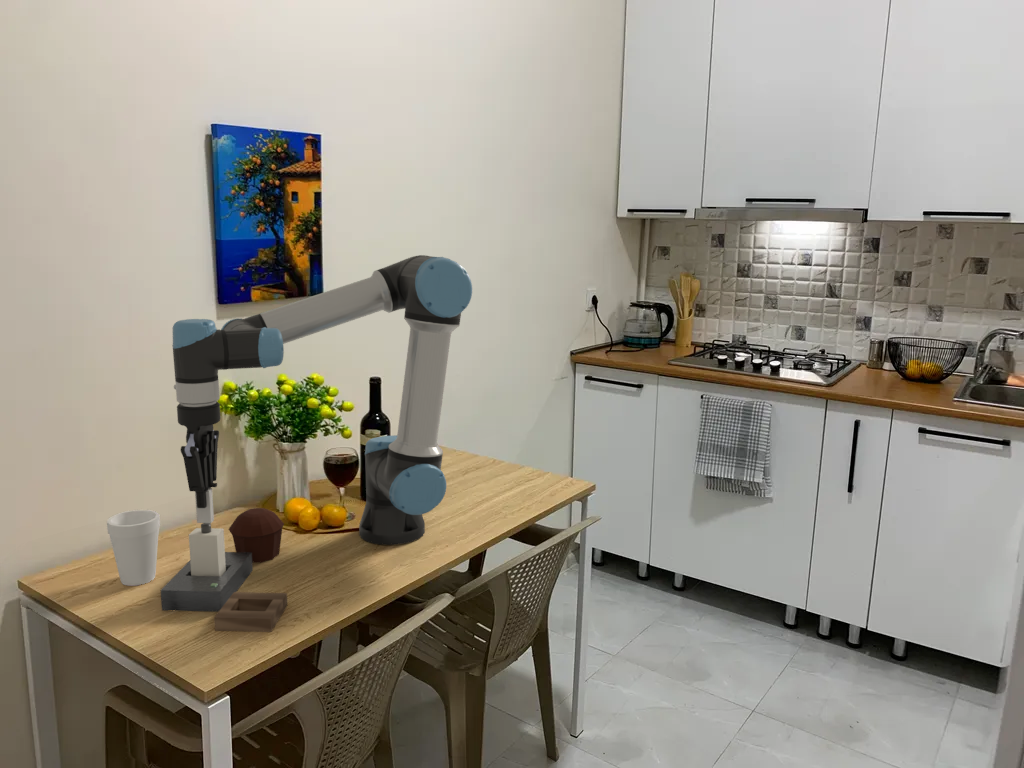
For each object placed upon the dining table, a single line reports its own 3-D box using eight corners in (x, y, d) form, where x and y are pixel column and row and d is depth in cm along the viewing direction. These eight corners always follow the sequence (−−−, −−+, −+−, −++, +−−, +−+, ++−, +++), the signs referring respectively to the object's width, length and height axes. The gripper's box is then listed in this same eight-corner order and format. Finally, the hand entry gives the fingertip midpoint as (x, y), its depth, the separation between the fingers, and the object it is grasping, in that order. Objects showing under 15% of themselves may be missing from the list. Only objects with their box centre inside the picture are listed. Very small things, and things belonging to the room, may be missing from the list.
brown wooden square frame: (234, 604, 153) (233, 592, 153) (287, 605, 153) (286, 593, 153) (214, 630, 143) (214, 617, 143) (271, 631, 143) (270, 618, 143)
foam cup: (160, 586, 160) (155, 524, 158) (108, 591, 157) (103, 528, 155) (165, 567, 169) (161, 507, 166) (117, 571, 166) (112, 511, 164)
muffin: (238, 544, 181) (235, 502, 179) (288, 543, 182) (287, 501, 180) (224, 567, 169) (222, 521, 168) (278, 565, 171) (276, 520, 169)
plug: (199, 585, 161) (195, 520, 158) (226, 585, 161) (223, 521, 158) (192, 593, 157) (188, 527, 155) (220, 593, 157) (216, 528, 155)
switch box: (199, 569, 168) (198, 550, 167) (252, 570, 168) (251, 551, 167) (161, 610, 150) (160, 589, 150) (220, 611, 150) (219, 590, 149)
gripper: (192, 394, 158) (199, 509, 163) (163, 409, 145) (171, 533, 150) (230, 395, 158) (236, 510, 163) (204, 410, 145) (212, 534, 150)
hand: (205, 521), depth 156 cm, fingers closed
